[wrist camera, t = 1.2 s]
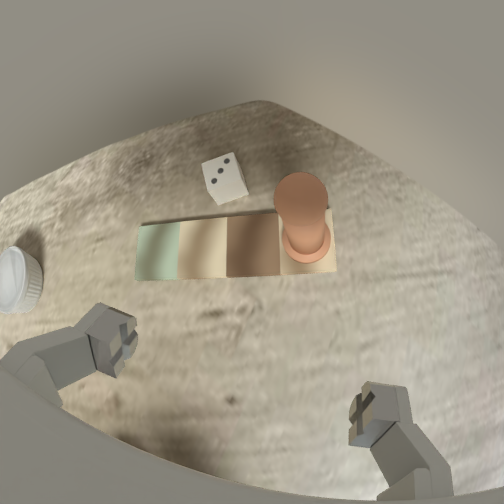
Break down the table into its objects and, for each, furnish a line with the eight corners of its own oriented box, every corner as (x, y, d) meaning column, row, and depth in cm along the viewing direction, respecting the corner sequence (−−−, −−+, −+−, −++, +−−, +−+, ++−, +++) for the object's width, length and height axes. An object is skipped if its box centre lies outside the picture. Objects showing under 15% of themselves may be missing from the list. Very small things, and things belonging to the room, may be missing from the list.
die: (241, 168, 39) (232, 151, 35) (249, 194, 37) (241, 178, 34) (212, 179, 39) (201, 163, 35) (218, 205, 38) (207, 191, 34)
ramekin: (56, 271, 41) (32, 263, 36) (32, 330, 40) (9, 327, 35) (28, 243, 45) (7, 234, 40) (6, 296, 43) (-15, 291, 38)
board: (331, 211, 35) (331, 208, 34) (336, 271, 33) (336, 270, 32) (142, 228, 39) (139, 226, 39) (137, 280, 37) (134, 279, 37)
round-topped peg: (328, 216, 34) (330, 153, 22) (332, 262, 32) (339, 218, 20) (282, 219, 35) (262, 159, 23) (283, 265, 33) (263, 223, 21)
